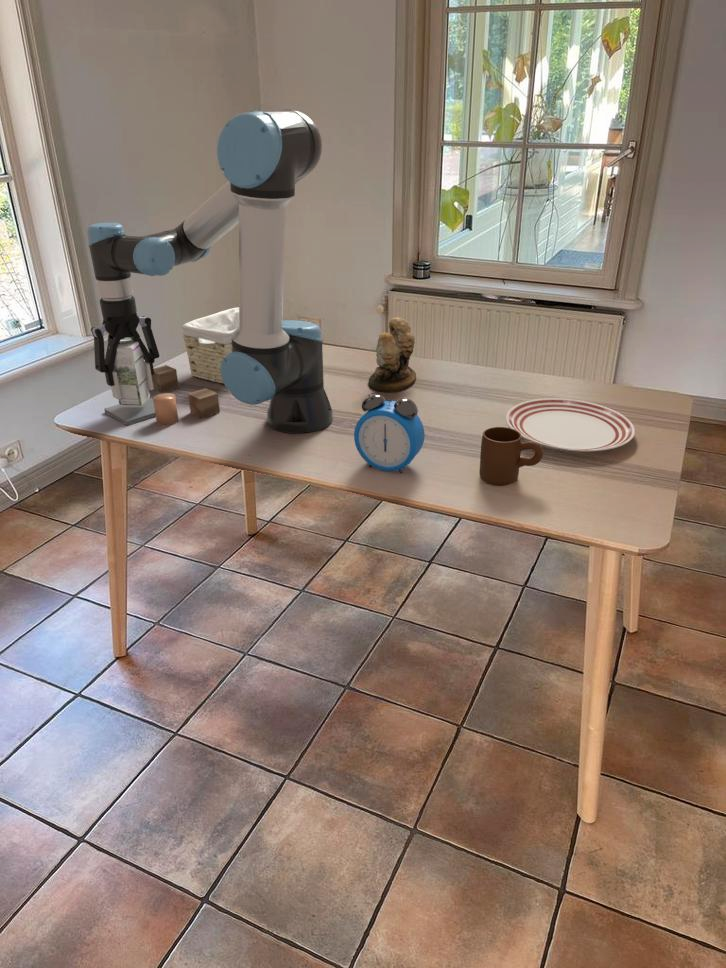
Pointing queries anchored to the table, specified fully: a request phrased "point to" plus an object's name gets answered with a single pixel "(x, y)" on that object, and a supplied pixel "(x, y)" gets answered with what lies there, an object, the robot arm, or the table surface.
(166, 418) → the terracotta cylinder
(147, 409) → the slate tile
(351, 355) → the table surface
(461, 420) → the table surface
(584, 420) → the dinner plate
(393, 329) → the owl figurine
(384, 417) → the alarm clock
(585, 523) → the table surface
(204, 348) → the storage basket
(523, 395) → the table surface
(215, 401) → the walnut block
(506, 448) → the mug
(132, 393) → the syrup box
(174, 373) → the dark oak block
